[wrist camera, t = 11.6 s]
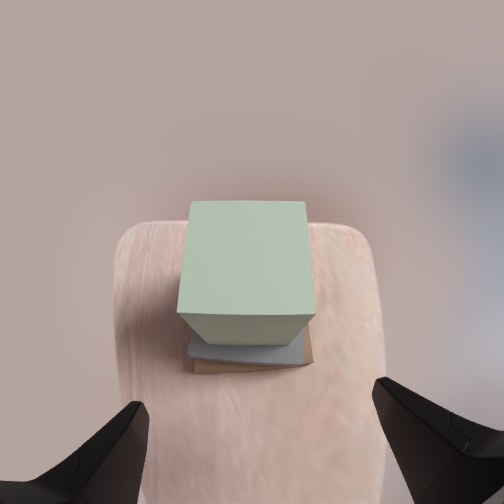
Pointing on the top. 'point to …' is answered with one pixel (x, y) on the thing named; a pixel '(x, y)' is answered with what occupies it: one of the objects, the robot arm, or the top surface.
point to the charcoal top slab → (248, 352)
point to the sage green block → (247, 272)
